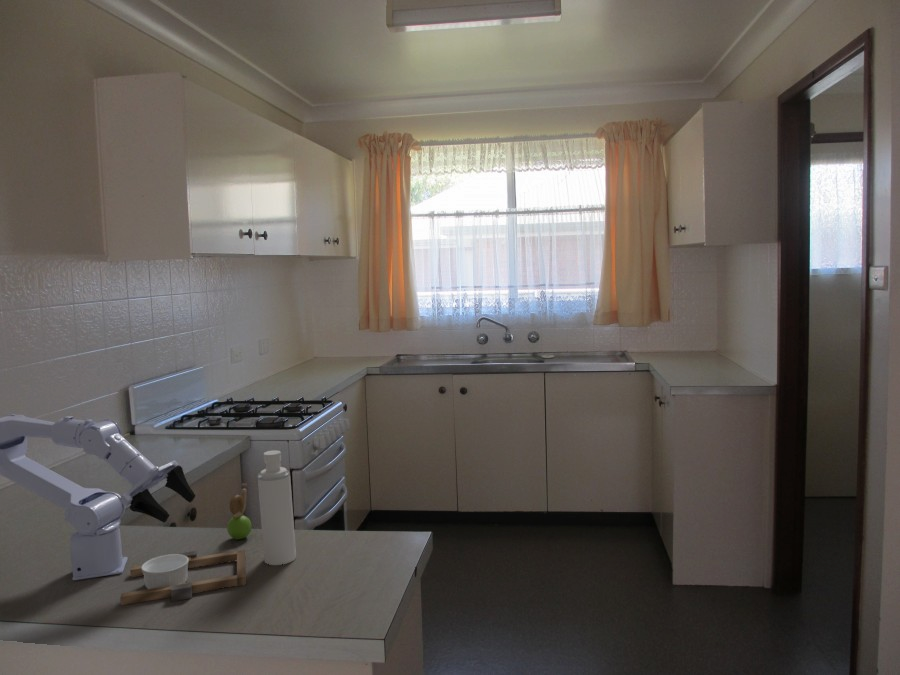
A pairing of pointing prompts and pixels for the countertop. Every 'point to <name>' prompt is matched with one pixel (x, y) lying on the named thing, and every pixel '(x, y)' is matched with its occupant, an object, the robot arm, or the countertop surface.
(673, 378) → the countertop surface
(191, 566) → the brown flat frame
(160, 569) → the ramekin
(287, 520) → the white bottle
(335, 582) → the countertop surface
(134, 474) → the robot arm
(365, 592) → the countertop surface
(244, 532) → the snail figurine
